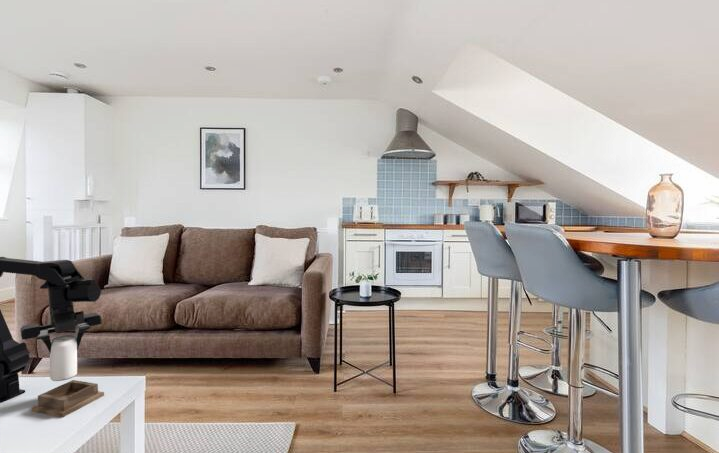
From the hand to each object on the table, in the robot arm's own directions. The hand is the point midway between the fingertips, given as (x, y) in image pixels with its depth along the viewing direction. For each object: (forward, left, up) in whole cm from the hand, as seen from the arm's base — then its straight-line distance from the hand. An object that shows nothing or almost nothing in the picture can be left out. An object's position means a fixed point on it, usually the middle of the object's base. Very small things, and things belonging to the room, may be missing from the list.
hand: (64, 352), depth 113 cm
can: (0, 0, -8) cm, 8 cm away
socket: (+5, -3, -13) cm, 15 cm away
